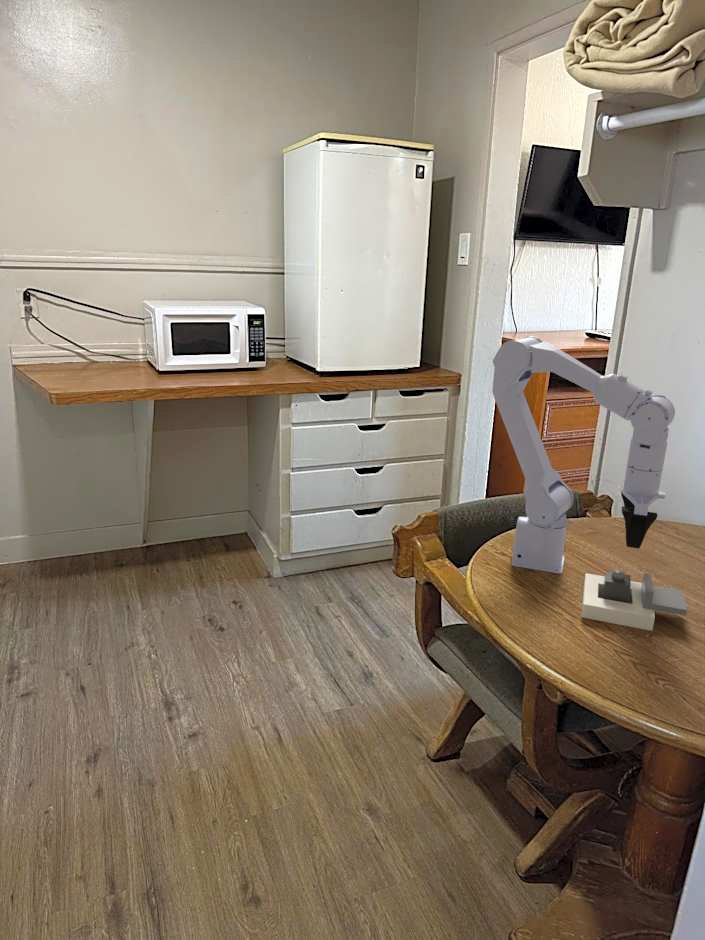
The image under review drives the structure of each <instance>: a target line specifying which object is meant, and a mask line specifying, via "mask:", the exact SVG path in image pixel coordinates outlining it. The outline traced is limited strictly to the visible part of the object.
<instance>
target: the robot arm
mask: <svg viewBox="0 0 705 940" xmlns="http://www.w3.org/2000/svg"><path fill="white" fill-rule="evenodd" d="M492 364H493V367H494V371H493V381H492V395H493V398H494V400H495V403H496V406H497V408H498V411H499V414H500V416H501V419H502V422H503V424H504V426H505V429H506V432H507V434H508V438H509V439H510V442H511V445H512V447H513V451H514V452H515V453H514V454H515V455H516V457H517V460H518V463H519V466H520V468H521V471H522V474H523V476H524V485H523V495H524V498H525V514H526V516H518V518H517V521H516V527H515V532H514V533H515V535H514V541H513V544H512V549H511V550H512V560H511V566H513V567H518V568H522V569H529V570H535V571H540V572H546V573H551V574H552V573H553V574H558V575H562V574H563V571H564V564H565V559H566V558H565V555H564V548H565V547H564V546H565V540H566V533H567V527H568V519H567V515H566V513H567V512H568V511H569V510H570V509H571V508H572V506H573V503H574V494H573V492H572V491H573V490H571V489H570V487H569V486H568V485H567V484H565V482H564V481H563V479H562V476H561V474H560V473H559V472H558V471H556V470H555V469H554V468H553V467H552V464H551V462H550V461H551V460H550V459H549V456H548V454H547V451H546V448H545V446H544V443H543V440H542V438H541V435H540V432H539V430H538V428H537V425H536V423H535V420H534V417H533V414H532V412H531V409H530V406H529V405H528V402H527V398H526V396H525V393H524V390H525V389H526V386H527V384H528V382H529V381H530V379H531V377H532V376H533V374H538V373H553V374H555V375H557V376H559V377H561V378H563V379H565V380H568V381H569V382H571V383H574V384H575V385H577V386H578V387H581V388H583V389H586V390H587V391H589V392H591V394H592V397H593V400H594V402H595V403H596V404H598V405H599V406H601V407H602V408H604V409H607V410H608V411H610V412H612V413H613V414H616V415H617V416H618V417H620V418H622V419H624V420H625V421H630V423H631V426H632V428H633V429H632V437H631V440H630V444H629V445H630V446H629V451H628V457H627V464H626V469H625V474H624V481H623V486H622V487H621V491H620V495H621V498H622V501H623V502H622V503H623V506H621V514H622V516H623V518H624V526H625V542H626V543H625V544H626V547H628V548H633V549H640V548H641V546H642V544H643V541H644V540H645V537H646V534H647V532H648V530H649V529H650V527H651V526H652V524H653V523H655V522H656V521H657V518H658V513H657V512H652V511H649V507H650V506H652V504H654V502H655V501H657V500H658V499H661V500H663V499H666V492H665V491H661V490H660V485H661V479H662V475H663V471H664V470H663V468H664V462H665V458H666V451H667V447H668V442H667V440H668V437H669V432H670V431H669V430H670V428H669V425H671V424H672V422H673V421H674V418H675V415H676V409H675V406H674V403H673V402H671V400H670V399H668V398H667V397H666V396H665V395H663V394H654V392H653V390H651V389H648V388H647V389H646V390H645V389H643V388H641V387H639V386H638V385H636V384H634V383H632V382H630V381H628V378H629V377H628V376H627V375H625V374H623V373H621V374H619V375H617V374H616V373H610V374H606V375H602V374H601V373H599V372H597V371H596V370H594V369H592V368H591V367H589V366H588V365H586V364H584V363H583V362H581V361H579V360H578V359H576V358H574V356H571V355H569V354H568V353H567V352H564V351H563V350H562V349H560V348H558V347H556V345H553V344H552V343H551V342H547V341H543V340H542V339H540V338H539V337H537V336H533V335H529V336H524V337H523V338H520V339H515V340H509V341H506V342H504V343H503V344H502V345H501V346H500V347H499V348H498V350H497V352H496V353H495V356H494V358H493V359H492Z"/></svg>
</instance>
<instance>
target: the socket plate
mask: <svg viewBox="0 0 705 940" xmlns="http://www.w3.org/2000/svg"><path fill="white" fill-rule="evenodd" d="M604 578H605V575H604V576H603V575H598V574H593V573H592V574H591V573H587V572H586V573H585V575H584V581H583V592H582V601H581V602H582V605H581V618H584V619H587V620H594V621H600V622H604V623H610V624H615V625H619V626H623V627H624V626H626V627H629V628H633V629H634V628H636V629H640V630H645V631H650V632H653V631H654V624H655V619H656V617H655V616H656V615H655V610H653V609H647V608H643V603H642V593H641V587H642V582H640V581H639V582H638V581H633V580H630V582H631V586H630V592H629V598H628V603H624V602H619V601H613V600H608V599H602V598H601V596H602V590H603V584H604Z"/></svg>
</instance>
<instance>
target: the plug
mask: <svg viewBox="0 0 705 940" xmlns="http://www.w3.org/2000/svg"><path fill="white" fill-rule="evenodd" d="M604 576H605V578H604V584H603V590H602V596H601V597H600V598H602V599H608V600H613V601H619V602H624V603H629V602H628V598H629V592H630V586H631V582H630V581H631V575H630V574H626V572H625V571H624V570H623V569H620V568H615V569H612V571H607V570H606V571H605V573H604Z"/></svg>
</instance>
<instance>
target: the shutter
mask: <svg viewBox="0 0 705 940" xmlns="http://www.w3.org/2000/svg"><path fill="white" fill-rule="evenodd" d="M641 583H642V587H641V593H642V603H643V608H647V609H653V610H654V611H659V612H666V613H670V614H677V615H681V616H687V613H688V607H687V603H686V597H685V595H684V594H685V593H684V590H683V589H682V590H681V589H676V588H675V589H674V588H669V587H665V586H659V585H658V586H657V585H654V584H653V576H652V574H650V573H645V572H644V573H643V576H642V582H641Z"/></svg>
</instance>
